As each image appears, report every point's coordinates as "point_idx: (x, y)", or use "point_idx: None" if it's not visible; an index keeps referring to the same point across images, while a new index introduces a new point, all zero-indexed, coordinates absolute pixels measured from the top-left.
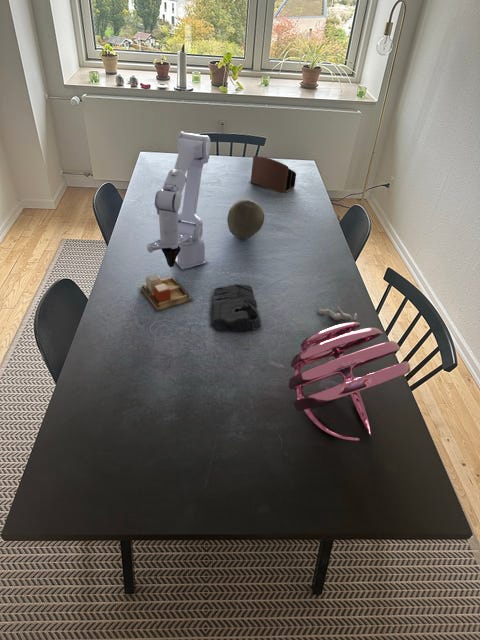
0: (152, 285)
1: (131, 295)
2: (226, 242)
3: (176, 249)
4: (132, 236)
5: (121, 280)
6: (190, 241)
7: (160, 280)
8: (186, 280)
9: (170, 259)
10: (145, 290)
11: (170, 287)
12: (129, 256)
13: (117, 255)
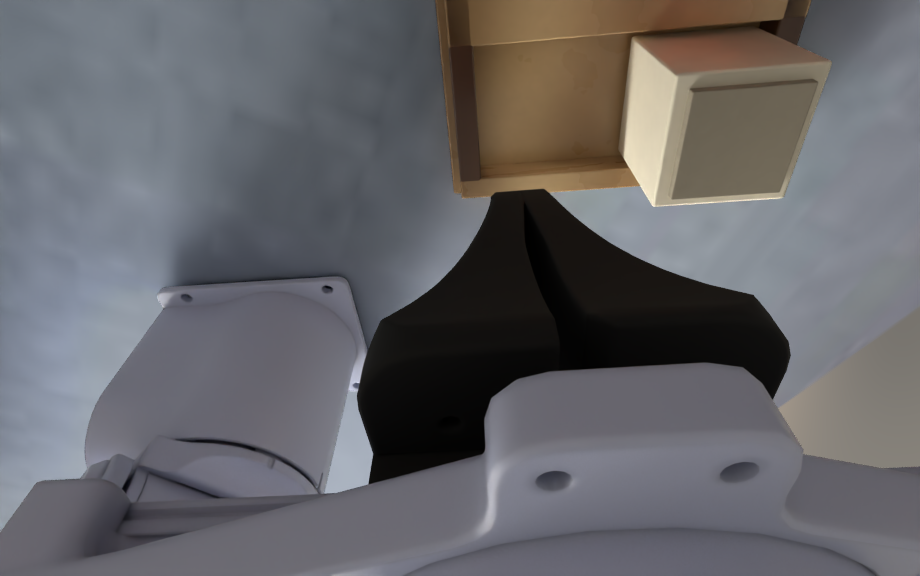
0: (789, 52)
1: (859, 114)
2: (9, 420)
3: (481, 366)
4: None
5: (777, 302)
6: (46, 506)
7: (698, 72)
8: (352, 143)
9: (576, 242)
10: None
11: (559, 31)
12: None
13: None
